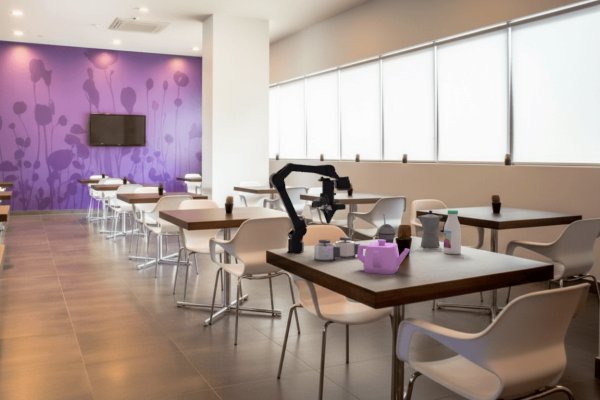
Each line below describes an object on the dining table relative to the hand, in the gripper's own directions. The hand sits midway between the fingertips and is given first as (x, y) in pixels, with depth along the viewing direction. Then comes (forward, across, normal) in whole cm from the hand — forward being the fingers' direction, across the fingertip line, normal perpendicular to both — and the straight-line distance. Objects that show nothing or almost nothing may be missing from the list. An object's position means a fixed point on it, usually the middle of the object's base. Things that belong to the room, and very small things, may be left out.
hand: (328, 223), depth 273 cm
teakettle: (+13, +49, -14) cm, 53 cm away
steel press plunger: (+11, +16, -17) cm, 26 cm away
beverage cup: (+13, +34, +4) cm, 37 cm away
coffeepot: (+13, +24, +48) cm, 55 cm away
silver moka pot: (+13, +17, -16) cm, 27 cm away
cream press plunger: (+11, +16, -4) cm, 20 cm away
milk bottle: (+13, +42, +39) cm, 59 cm away
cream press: (+13, +17, -4) cm, 22 cm away
